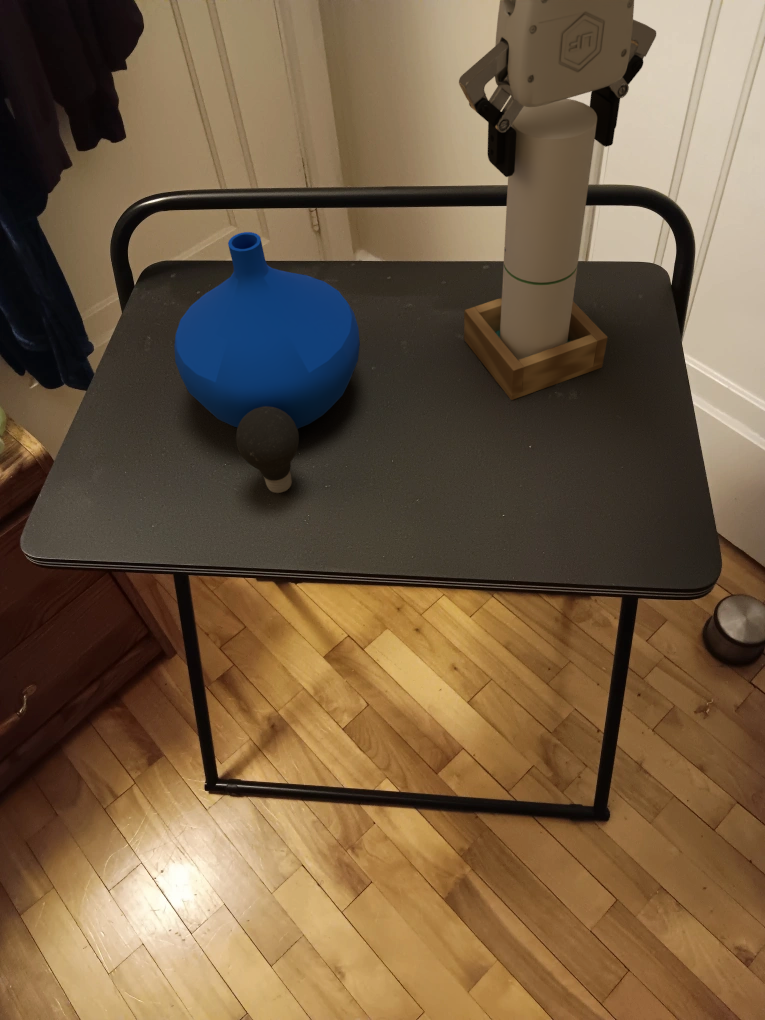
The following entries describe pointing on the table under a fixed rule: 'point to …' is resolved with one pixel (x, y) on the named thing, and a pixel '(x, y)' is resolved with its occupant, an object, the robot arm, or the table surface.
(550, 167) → the cylindrical container
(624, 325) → the table surface
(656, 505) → the table surface
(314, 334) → the vase
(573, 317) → the square wooden tray
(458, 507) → the table surface
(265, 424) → the light bulb
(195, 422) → the table surface
